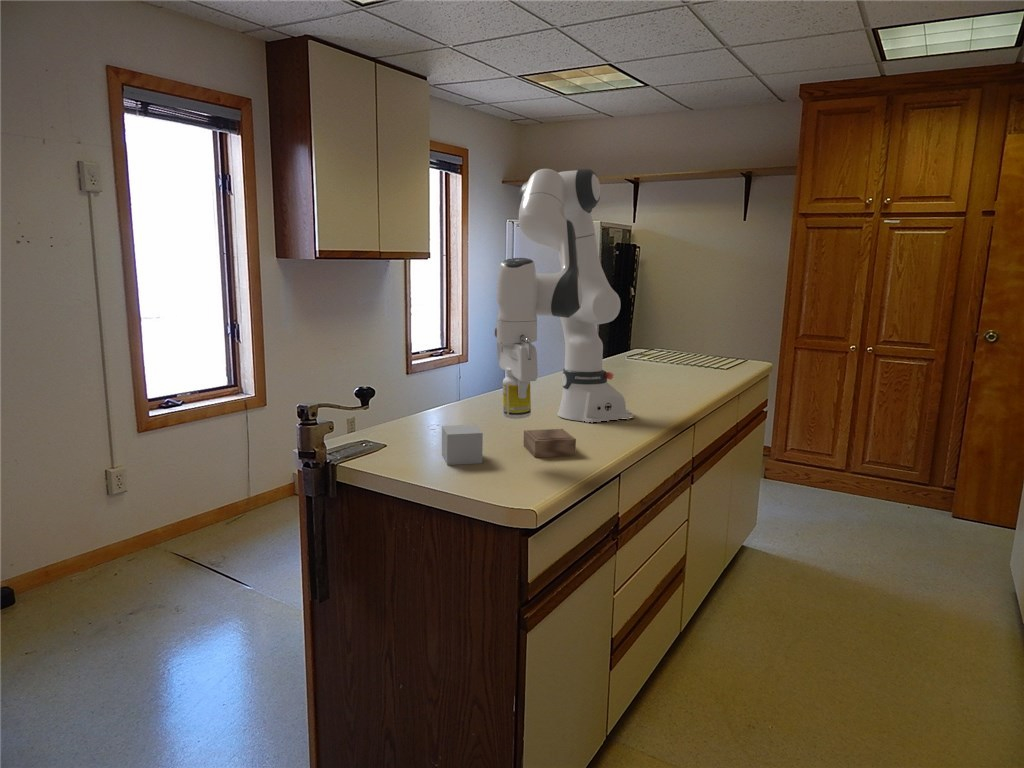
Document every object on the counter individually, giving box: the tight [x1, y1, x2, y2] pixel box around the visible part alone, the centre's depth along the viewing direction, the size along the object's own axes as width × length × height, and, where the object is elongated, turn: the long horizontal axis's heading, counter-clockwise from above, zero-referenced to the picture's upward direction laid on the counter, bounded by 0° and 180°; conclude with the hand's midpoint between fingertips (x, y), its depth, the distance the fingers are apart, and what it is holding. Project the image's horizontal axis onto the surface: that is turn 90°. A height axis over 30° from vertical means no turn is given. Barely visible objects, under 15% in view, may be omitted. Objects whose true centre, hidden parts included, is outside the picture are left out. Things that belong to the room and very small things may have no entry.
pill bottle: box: [502, 367, 532, 420], centre depth 148 cm, size 6×6×11 cm
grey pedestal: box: [441, 424, 484, 466], centre depth 151 cm, size 8×8×7 cm
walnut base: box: [523, 428, 577, 458], centre depth 160 cm, size 10×10×4 cm
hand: (517, 394), depth 148 cm, fingers closed on pill bottle, 6 cm apart
